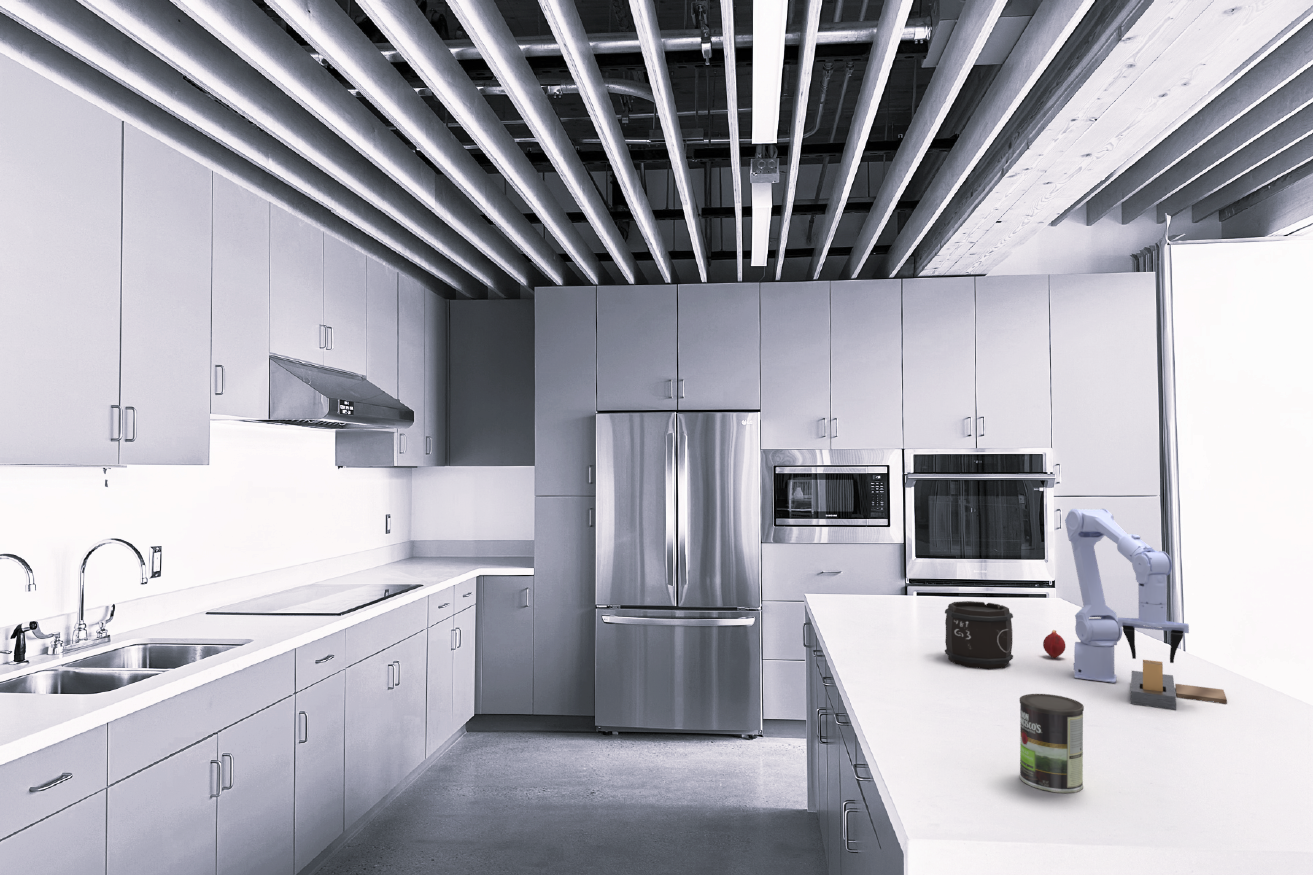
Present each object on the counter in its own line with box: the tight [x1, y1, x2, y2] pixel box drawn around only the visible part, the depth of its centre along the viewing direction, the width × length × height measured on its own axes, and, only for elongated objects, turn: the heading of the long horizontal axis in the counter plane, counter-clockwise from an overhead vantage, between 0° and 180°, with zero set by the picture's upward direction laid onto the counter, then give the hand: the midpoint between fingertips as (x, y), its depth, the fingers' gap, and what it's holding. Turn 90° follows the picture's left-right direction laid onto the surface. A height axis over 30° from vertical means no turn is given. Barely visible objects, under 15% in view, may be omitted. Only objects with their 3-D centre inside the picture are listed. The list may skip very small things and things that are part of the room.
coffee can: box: [1019, 693, 1085, 794], centre depth 148 cm, size 10×10×14 cm
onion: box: [1042, 629, 1067, 659], centre depth 240 cm, size 6×6×8 cm
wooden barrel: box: [944, 600, 1014, 670], centre depth 235 cm, size 18×18×16 cm
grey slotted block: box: [1130, 670, 1177, 711], centre depth 203 cm, size 9×22×3 cm, turn 150°
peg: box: [1142, 659, 1164, 692], centre depth 199 cm, size 4×4×9 cm
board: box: [1174, 683, 1228, 705], centre depth 203 cm, size 10×10×1 cm
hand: (1152, 659), depth 199 cm, fingers open, 7 cm apart
